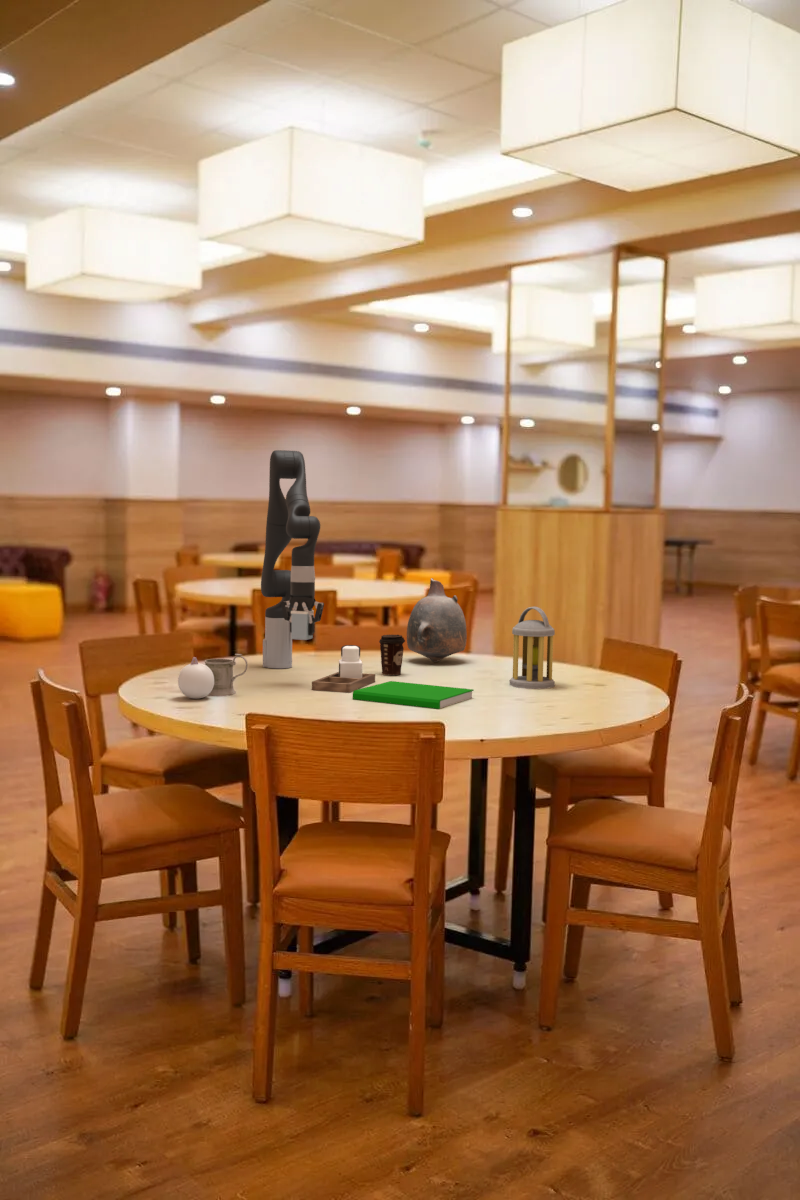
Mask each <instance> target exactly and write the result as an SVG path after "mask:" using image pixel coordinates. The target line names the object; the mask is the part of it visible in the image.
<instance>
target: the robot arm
mask: <svg viewBox="0 0 800 1200" xmlns="http://www.w3.org/2000/svg"><path fill="white" fill-rule="evenodd" d="M306 473H307V472H306V463H305V458H304V454H303V453H302V452H301V451H299V450H284V449H282V450H279V449H277V450H272V452H271V454H270V457H269V475H268V476H269V478H268V479H269V483H268V485H269V487H268V488H269V490H268V492H269V493H268V503H267V504H268V505H267V514H266V524H265V525H266V526H265V543H264V544H265V546H264V548H265V549H264V557H263V565H262V569H261V570H262V572H261V578H260V590H261V591H260V592H261V595H262V596H263V597H265V598H281V600H280V601H279V602H278V603H276V604H274V605H272V606H269V607H266V609H265V611H264V612H265V614H264V615H265V617H264V619H265V620H264V624H265V625H264V626H265V629H264V631H265V633H264V634H265V635H264V638H263V639H262V668H269V669H288V668H292V667H293V639H292V614H291V611H308V621H309V624H308V635H309V636H311V635H313V636H314V634H315V632H316V631H315V627H316V626H315V624H316V623H317V622H320V621H321V620H322V616H323V611H324V607H325V603H324V602H319V601H317V600H316V598H315V595H316V590H315V589H316V573H315V572H316V571H315V570H316V569H315V551H316V550H315V549H316V547H317V546H316V545H317V541H318V538H319V536H320V532H321V522H320V519H319V518H318V517H317V516H314V515H311V506H310V502H309V498H308V493H307V474H306ZM282 479H284V480H287V479H288V480H294V482H293V483H292V485H291V486H290V487H289V488H288V491H287V493H286V496H285V495H284V493H283V491H282V488H281V482H280V480H282ZM292 539H295V540H296V539H298V540H299V539H300V540H304V539H305V540H306V539H307V540H306V543H305V544H303V545H299V546H295V547H293V548H292V550H291V568H290V570H289V569H275V566H276V563H277V561H278V559H279V557H280V555H281V554H282V553H283V551H284V550H285V549H286V548H287V546H288V545H289V544H290V542H291V541H292ZM314 606H315V610H316V611H315V613H313V608H314ZM309 611H312V613H310V612H309Z"/></svg>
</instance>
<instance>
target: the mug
mask: <svg viewBox="0 0 800 1200" xmlns="http://www.w3.org/2000/svg"><path fill="white" fill-rule="evenodd" d="M234 655H235V656H233V659H230V658H229V659H228V658H210V659H205V660H204V665H206V666H208V667H209V668H210V669H211V671H212V673H213V675H214V686H213V689H212V691H211V692H210V693H209V694H208V695H207V696H213V697H215V696H216V697H219V696H221V697H223V696H233V695H235V694H237V692H236V691H235V689H234V685H233V684H234V681H235V679H236V678H237V677H240V676H243V675H244V674H245V673H246V672H247V671H248V665H249V663H248V660H247V658H245V657H244V655H243V654H242V653H235V654H234ZM237 658H241V659H243V660H244V662H245V668H244V670H243V672H240V673H239V674H236V675H235V676H234V666H236V664H237V663H236V659H237Z"/></svg>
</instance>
